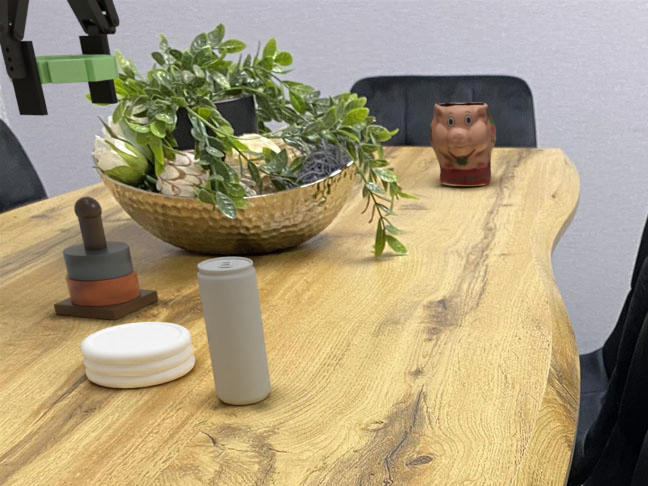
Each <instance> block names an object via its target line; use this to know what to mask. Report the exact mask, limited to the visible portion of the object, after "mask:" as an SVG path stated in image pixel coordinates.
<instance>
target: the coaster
mask: <svg viewBox="0 0 648 486" xmlns="http://www.w3.org/2000/svg"><path fill="white" fill-rule="evenodd" d="M80 353H81V354H82V357H83V358H82V363H83V365H84V367H85V375H86V377H87V378H88V380H89V381H90V382H92V383H94V384H95V385H98V386H101V387H105V388H112V389H113V388H114V389H135V388H136V389H137V388H145V387H152V386H158V385H162V384H166V383H168V382H171V381H174V380H177V379H179V378H181V377H183V376H185V375H187V374H188V373H189V372H191V370H192V369H193V368H194V367H195V363H196V357H195V355H194V346H193V344H192V334H191V332H190V331H189V330H188V328H186V327H185V326H182V325H180V324H178V323H173V322H166V321H139V322H131V323H130V322H129V323H123V324H118V325H113V326H109V327H105V328H103V329H100V330H97V331H94V332H93V333H91V334H89V335H88V336H86V337H85V338H84V339H83V340H82V342H81V344H80Z"/></svg>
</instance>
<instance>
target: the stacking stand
mask: <svg viewBox="0 0 648 486" xmlns="http://www.w3.org/2000/svg"><path fill="white" fill-rule="evenodd" d="M73 210H74V214H75V216H76V218H77V220H78V226H79V228H80V234H81V239H82V243H78V244H74V245H71V246H68V247H65V248H64V249H63V250H62V255H63V260H64V264H65V269H66V273H67V274H65V281H66V286H67V290H68V294H69V297H68V298H65V299H63V300H61V301H57V302H55V303H53V307H54V311H55V315H61V316H70V317H82V318H91V319H102V320H111V321H116V320H118V319H120V318H123V317H125V316H127V315H129V314H132V313H134V312H136V311H138V310H139V309H142V308H144V307H146V306H148V305H151V304H153V303H155V302H157V301H159V296H158V290H157V289H154V290H153V289H144V288H141V286H140V283H139V282H140V281H139V277H138V272H137V269H136V268H135V267H134V265H133V260H132V255H131V254H132V253H131V250H130V245H129V244H128V243H126V242H123V241H116V240H107V239H106V233H105V229H104V228H105V227H104V224H103V219H102V215H103V214H102V213H103V209H102V206H101V204H100V202H99V201H98V200H97V199H95V198H93V197H92V196H82V197H80V198H78V199H77V200H76V202H74V205H73Z"/></svg>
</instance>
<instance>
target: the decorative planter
mask: <svg viewBox="0 0 648 486" xmlns="http://www.w3.org/2000/svg"><path fill="white" fill-rule="evenodd" d="M496 142H497V128H496V124H495V122H494V119H493V117H492V114H491V112H490V109H489V105H488V104H487V103H486V102H482V101H481V102H480V101H479V102H477V101H476V102H475V101H473V102H471V101H468V102H443V103H439V102H435V104H434V106H433V118H432V120H431V122H430V126H429V143H430V146H431V148H432V150H433V152H434V153H435V156H436V159H437V162H438V166H439V171H440V172H439V183H440V184H442V185H445V186H453V187H478V186H486V185H488V184H490V182H491V179H492V169H491V168H492V152H493V149H494V148H495V145H496Z"/></svg>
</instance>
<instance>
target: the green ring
mask: <svg viewBox="0 0 648 486" xmlns="http://www.w3.org/2000/svg"><path fill="white" fill-rule="evenodd" d="M35 57H36V61H37V66H38V71H39V76H40V80H41V84H42V85H46V84H52V85H55V84H57V85H58V84H59V85H60V84H75V83H76V84H77V83H88V81H102V80H110V79H113V80H116V79H120V74H119V68H118V63H117V57H116V56H115V55H112V54H111V55H89V54H82V53H81V54H52V55H38V56H37V55H35ZM8 79H9V81H10V83H12V78H9V77H8Z"/></svg>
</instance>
